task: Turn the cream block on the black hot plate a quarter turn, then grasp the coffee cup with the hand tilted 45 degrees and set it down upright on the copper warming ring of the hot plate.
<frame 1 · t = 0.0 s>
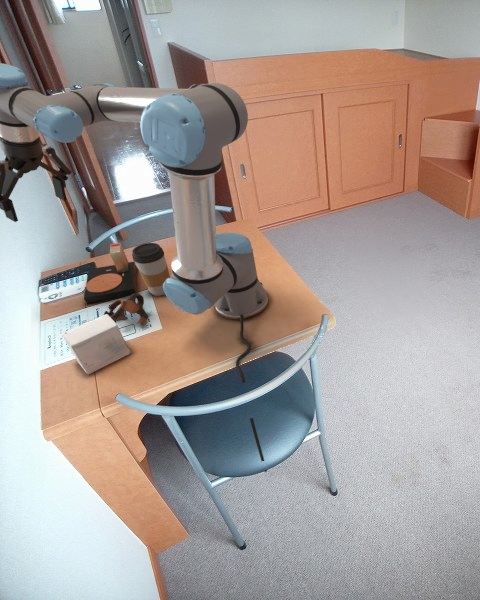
hand: (37, 208, 114), 28 cm above the table, tool tilted 20°, fingers open, 13 cm apart
cream block: (119, 257, 135), point 6 cm above the table, hinge at 0.0°
cosmetics box: (105, 358, 110), on the table
hotplate: (113, 285, 134), on the table
coffee cup: (161, 290, 134), on the table
warming ring: (104, 283, 131), resting on hotplate
pottery mug: (132, 320, 122), on the table
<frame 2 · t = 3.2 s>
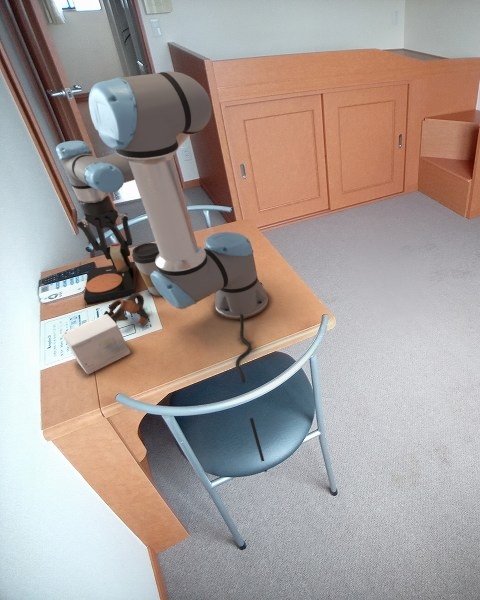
hand: (122, 265, 137), 4 cm above the table, tool pointing down, fingers closed on cream block, 3 cm apart
cream block: (119, 257, 135), point 6 cm above the table, hinge at 0.0°, touching gripper
everything else where it was.
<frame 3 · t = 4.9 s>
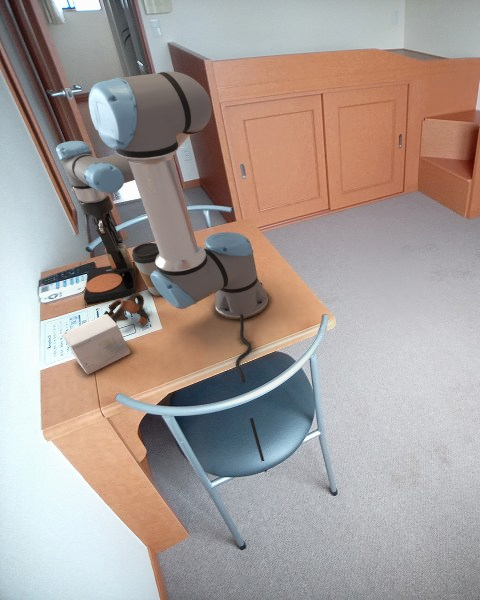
hand: (122, 265, 137), 3 cm above the table, tool pointing down, fingers closed on cream block, 3 cm apart
cream block: (119, 257, 135), point 6 cm above the table, hinge at 89.5°, touching gripper
everything else where it was.
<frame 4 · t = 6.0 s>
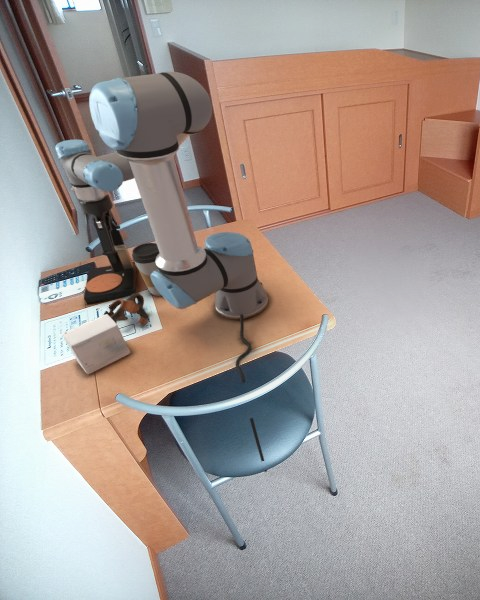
hand: (120, 259, 135), 6 cm above the table, tool pointing down, fingers open, 13 cm apart
cream block: (119, 257, 135), point 6 cm above the table, hinge at 89.5°
everything else where it was.
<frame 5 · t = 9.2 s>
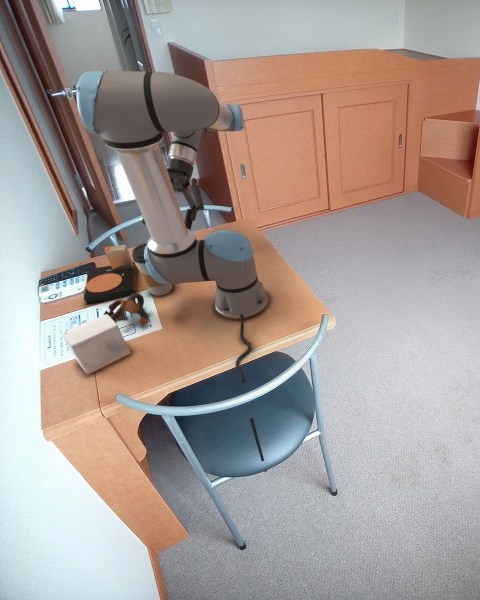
hand: (166, 227, 131), 17 cm above the table, tool tilted 45°, fingers open, 13 cm apart
nothing on the table moved.
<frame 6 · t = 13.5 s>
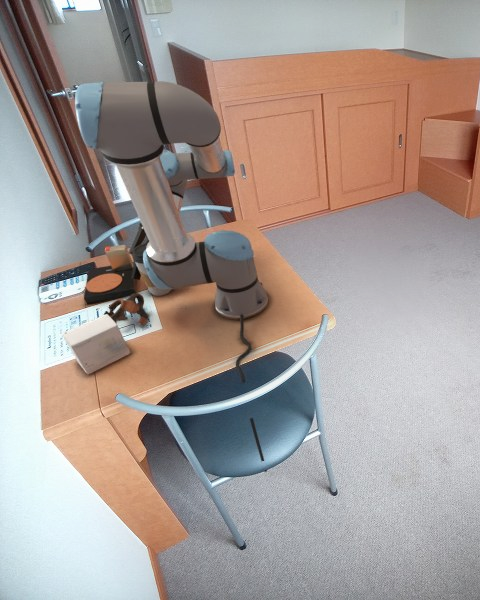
hand: (149, 281, 127), 6 cm above the table, tool tilted 45°, fingers closed on coffee cup, 8 cm apart
coffee cup: (161, 290, 134), on the table, touching gripper
everything else where it was.
when the fingers open (8 cm above the table, at t = 22.1 s): coffee cup stays where it is, resting on warming ring.
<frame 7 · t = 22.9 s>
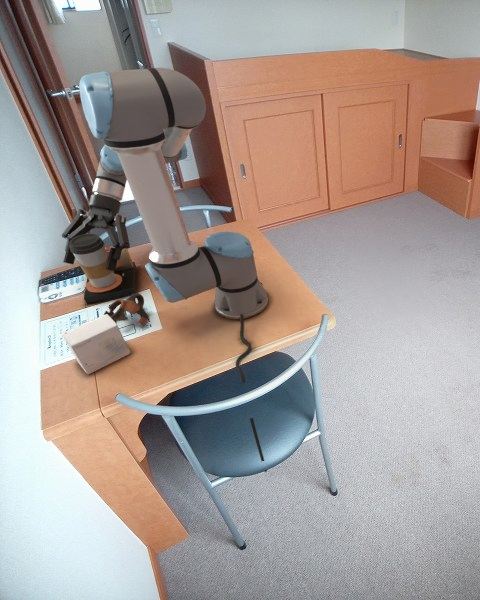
hand: (89, 266, 124), 10 cm above the table, tool tilted 45°, fingers open, 13 cm apart
coffee cup: (104, 282, 131), point 3 cm above the table, touching warming ring
everything else where it was.
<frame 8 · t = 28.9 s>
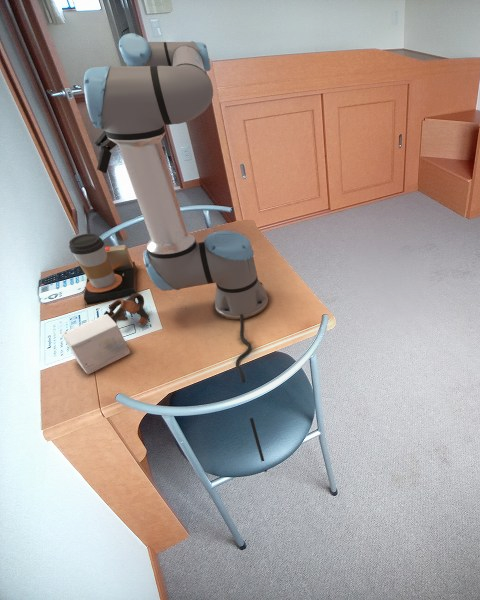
hand: (122, 174, 124), 32 cm above the table, tool tilted 45°, fingers open, 13 cm apart
nothing on the table moved.
at the end: cream block at +90° (first picture: +0°); coffee cup 0.1 cm off-centre on the warming ring, point 0.1 cm above the warming ring's base; coffee cup tilted 0° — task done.
